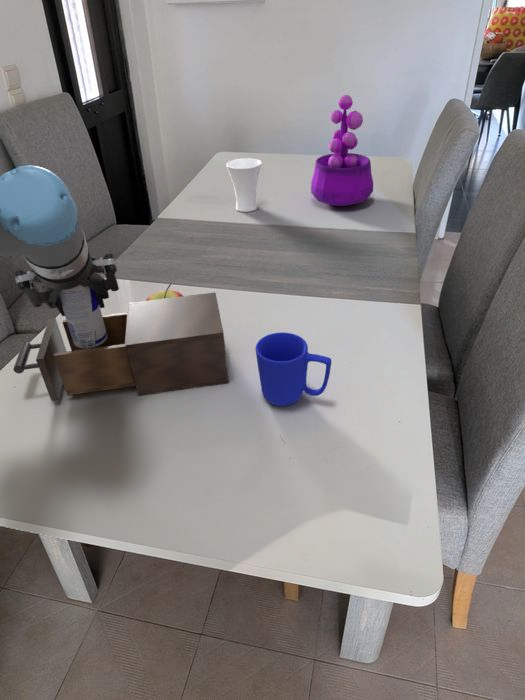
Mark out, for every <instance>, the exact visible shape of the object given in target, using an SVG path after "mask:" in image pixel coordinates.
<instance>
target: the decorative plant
mask: <svg viewBox="0 0 525 700" xmlns="http://www.w3.org/2000/svg"><path fill="white" fill-rule="evenodd" d="M353 103H354V101H353V99H352V96H350V95H349V94H343V95H342V96H340V97H339V100H338V102H337V104H338V108H339V109H337V110H336V109H335V110H333V111H332V112H331V113H330V118H329V119H330V121H331V122H332V123H333V124H335V125H337V124H340V129H336V130H334V132H333V133H332V139H331V140H330V142H329V144H328V148H329V151H330V152H331V153H329V154H325V155H321V156H319V157H317V158H316V160H315V162H314V163H315V164H314V170H313V175H312V178H311V182H310V193H311V195H312V196H313V197H314V198H315V199H316V200H317V201H318V202H320V203H322V204H326V205H330V206H337V207H347V206H351V205H357V204H360V203H362V202H364V201H367V199H368V198H369V197H370V196H371V195H372V194H373V192H374V179H373V175H372V164H371V159H370V158H369V157H368V156H366V155H363V154H360V153H354V152H353V153H352V152H349V150H350V151H352V150H354V149H355V148H356V147H357V146H358V144H359V142H358V138H357V137H356V134H355V133H354V132H351V131H355V130H357V129H359V128H361V126H362V125H363V123H364V118H363V114H362V113H361V112H359V111H357V110H353V111H350V112H349V113H348V114H347V110H349V109H351V108H352V106H353V105H354V104H353ZM340 109H341V110H342V111H343V112H342V111H341V110H340ZM349 129H350V130H351V131H348V130H349Z"/></svg>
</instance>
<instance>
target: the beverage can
mask: <svg viewBox="0 0 525 700" xmlns="http://www.w3.org/2000/svg"><path fill="white" fill-rule="evenodd" d="M58 295H59V298H60V301H61V304H62V308H63V311H64V314H65V316H64V317H65V320H67V323H68V327H69V330H70V333H71V336H72V339H73V342H74V345H75V346H77V347H79V348H83V349H90V348H94V347H97V346H99V345H101V344H102V343H104V342H105V340H106V339H107V332H106V328H105V325H104V321H103V317H102V315H103V314H102V310H101V308H100V306H99V302H98V300H97V297H96V293H95V291H94V290H92V289H91V288H89V287H83V286H81V285H79V286H77V287H75V288H72V289H67V290H61V292H59V294H58Z"/></svg>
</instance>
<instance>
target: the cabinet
mask: <svg viewBox="0 0 525 700" xmlns="http://www.w3.org/2000/svg"><path fill="white" fill-rule="evenodd" d="M128 312H129V313H128V326H127V338H126V348H127V352H128V356H129V360H130V364H131V368H132V372H133V376H134V380H135V384H136V386H135V388H136V393H137V396H138V397H140V396H146V395H153V394H154V395H155V394H162V393H167V392H173V391H174V392H175V391H182V390H189V389H194V388H195V389H196V388H202V387H208V386H209V387H210V386H217V385H222V384H230V383H229V382H230V380H229V371H228V361H227V355H226V345H225V335H224V328H223V323H222V318H221V314H220V313H221V312H220V309H219V303H218V299H217V292H207V293H206V292H205V293H199V294H198V293H197V294H190V295H183V296H181V297H173V298H165V299H157V300H149V301H146V300H142V301H134V302H129V303H128Z"/></svg>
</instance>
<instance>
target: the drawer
mask: <svg viewBox="0 0 525 700" xmlns="http://www.w3.org/2000/svg"><path fill="white" fill-rule="evenodd" d="M128 313H129V311H124V312H118V313H117V312H116V313H110V314H102V317H103V321H104V325H105V328H106V332H107V339H106V340H105V342H104V343H102V344H101V345H99V346H97V347H94V348H90V349H83V348H79V347H77V346H75V345H74V342H73V339H72V336H71V333H70V330H69V327H68V323H67V320H66V319H63V320H62V325H63V329H64V332H65V335H66V338H67V340H68V344H69V347H70V350H68V351H67V348H66V345H65V342H64V339H63V336H62V333H61V330H60V327H59V324H58V321H57V318H56V317H54V318H53V317H52V318H48V320H47V324H46V327H45V330H44V332H43V336H42V339H41V342H40V343H34V344H31V342H28V341H27V342H25V341H24V342H23V343H22V344H21V347H20V349H19V352H18V355H17V358H16V361H15V363H14V366H13V372H14V373H15V374H23V373H24V371H26V370H32V369H39V372H40V375H41V377H42V381H43V382H44V385H45V387H46V391H47V393H48V395H49V398H50V401H51V402H57V401H59V400H60V397H61V393H62V388H64V390H65V394H66V396H73V395H80V394H86V393H93V392H102V391H109V390H115V389H121V388H122V389H123V388H129V387H136V384H135V380H134V376H133V372H132V368H131V364H130V360H129V356H128V352H127V348H126V338H127V326H128ZM36 349H38V352H37V355H36V358H35V362H36V363H29V364H27V362H28V359H29V356H30V354H31V350H36Z"/></svg>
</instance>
